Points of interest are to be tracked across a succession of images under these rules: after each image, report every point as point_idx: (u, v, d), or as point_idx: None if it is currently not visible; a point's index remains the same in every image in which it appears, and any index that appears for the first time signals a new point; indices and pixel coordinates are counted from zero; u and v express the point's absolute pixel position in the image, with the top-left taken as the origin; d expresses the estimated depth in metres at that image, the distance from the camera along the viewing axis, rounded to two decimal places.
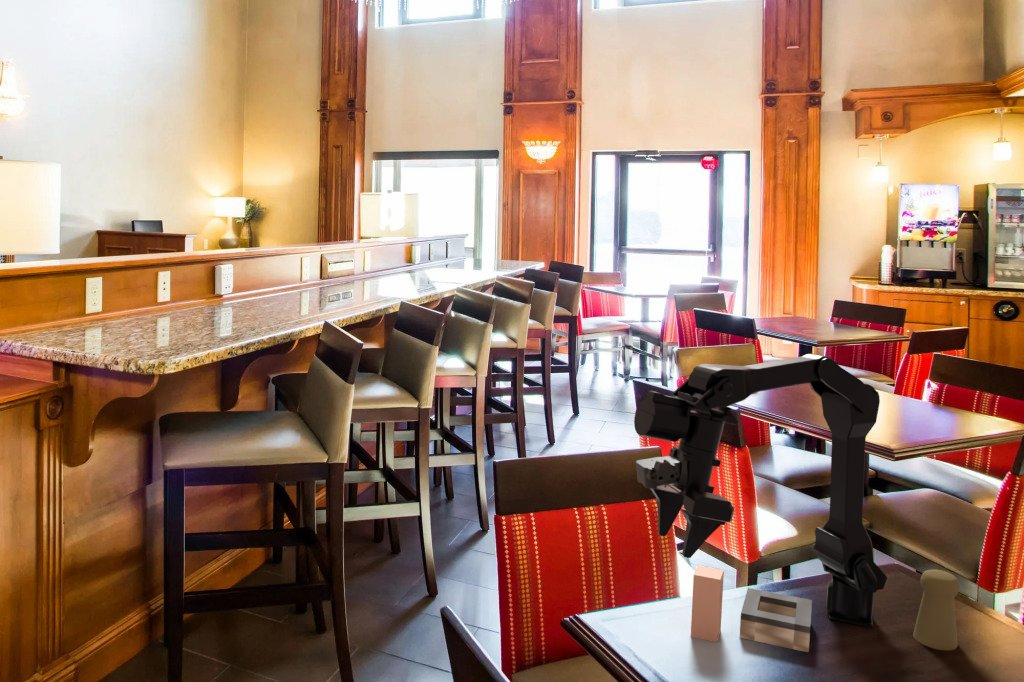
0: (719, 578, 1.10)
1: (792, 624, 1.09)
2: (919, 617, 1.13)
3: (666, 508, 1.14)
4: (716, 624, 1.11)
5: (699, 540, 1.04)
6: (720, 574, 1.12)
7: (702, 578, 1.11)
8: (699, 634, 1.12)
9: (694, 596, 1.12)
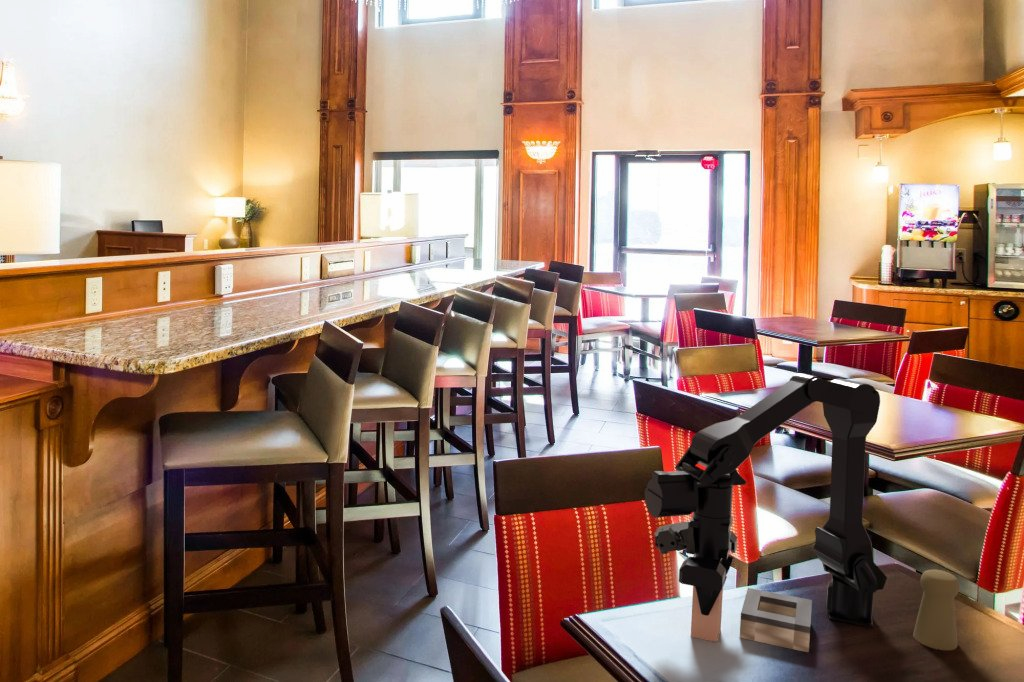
0: None
1: (792, 624, 1.09)
2: (919, 617, 1.13)
3: None
4: (716, 624, 1.11)
5: (709, 599, 1.10)
6: None
7: None
8: (699, 634, 1.12)
9: (694, 596, 1.12)
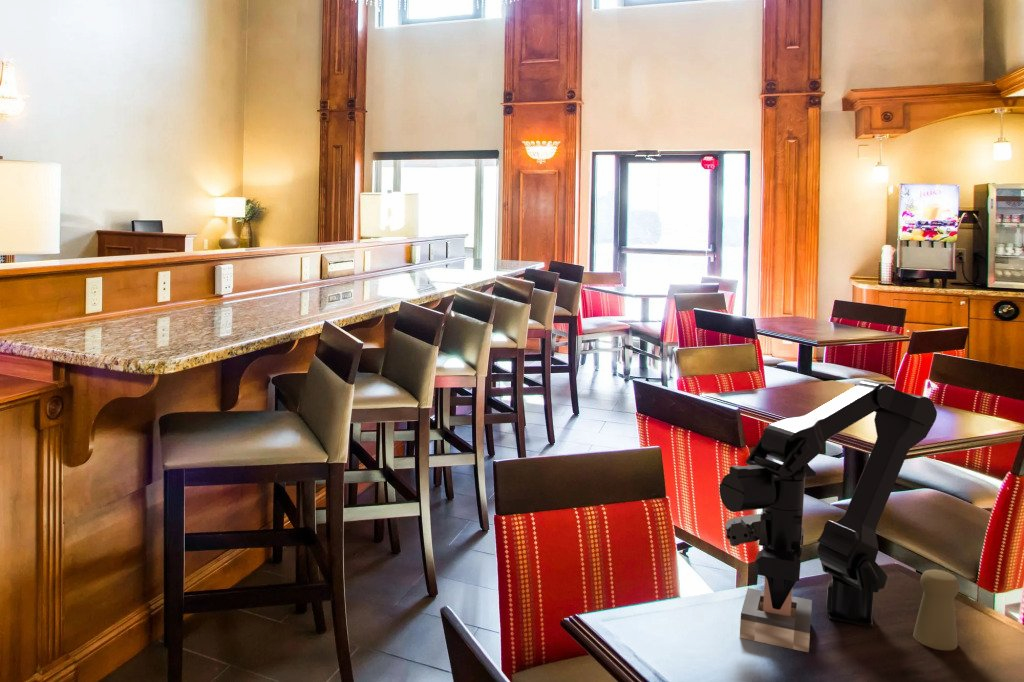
0: None
1: (792, 624, 1.09)
2: (919, 617, 1.13)
3: None
4: None
5: (782, 593, 1.10)
6: None
7: None
8: None
9: (765, 593, 1.13)
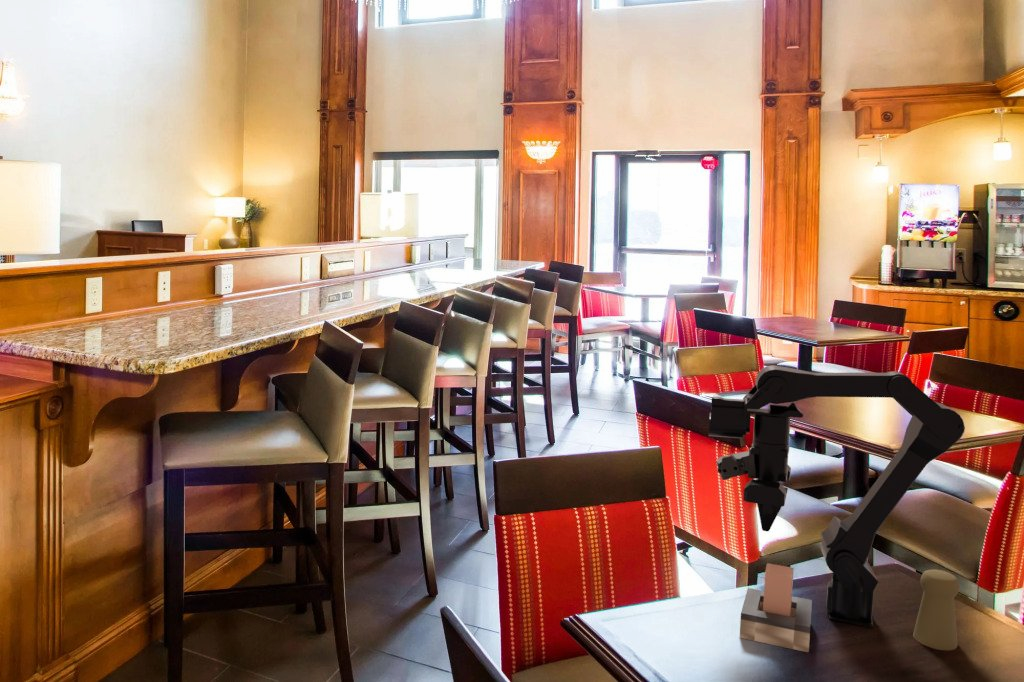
0: (791, 576, 1.12)
1: (792, 624, 1.09)
2: (919, 617, 1.13)
3: None
4: None
5: (770, 516, 1.21)
6: (791, 571, 1.13)
7: (774, 576, 1.12)
8: None
9: (765, 593, 1.13)
